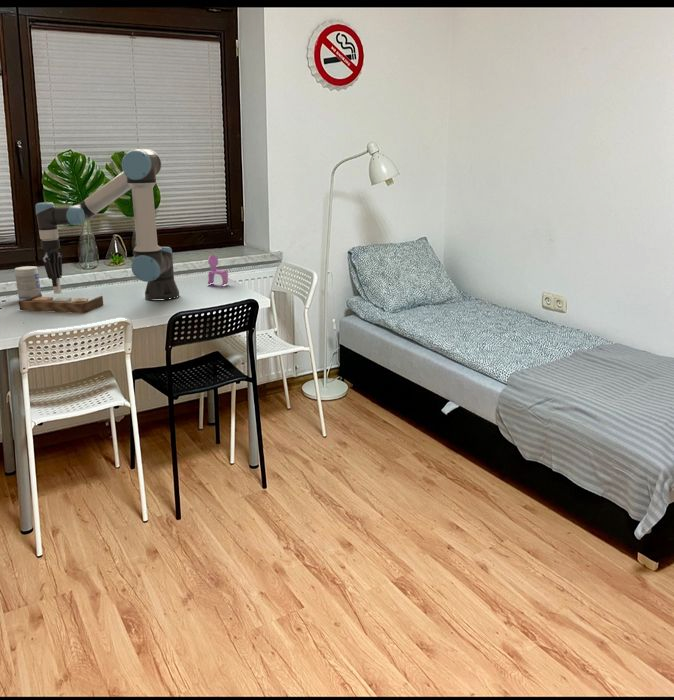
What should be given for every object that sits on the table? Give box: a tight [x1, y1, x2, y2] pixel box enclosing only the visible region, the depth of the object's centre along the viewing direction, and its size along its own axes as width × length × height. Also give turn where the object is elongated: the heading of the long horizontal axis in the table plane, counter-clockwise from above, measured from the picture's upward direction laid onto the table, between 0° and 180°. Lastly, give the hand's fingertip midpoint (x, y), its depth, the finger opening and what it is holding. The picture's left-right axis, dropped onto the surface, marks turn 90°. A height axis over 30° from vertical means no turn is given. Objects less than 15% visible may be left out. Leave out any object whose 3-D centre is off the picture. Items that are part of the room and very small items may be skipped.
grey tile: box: [52, 297, 73, 303], centre depth 296 cm, size 6×6×4 cm
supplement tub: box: [14, 265, 42, 301], centre depth 309 cm, size 10×10×15 cm
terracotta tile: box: [32, 296, 54, 302], centre depth 297 cm, size 6×6×4 cm
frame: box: [18, 293, 104, 314], centre depth 295 cm, size 30×15×4 cm, turn 80°
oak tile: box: [72, 297, 89, 303], centre depth 294 cm, size 6×6×4 cm
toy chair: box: [207, 254, 229, 286], centre depth 337 cm, size 8×9×15 cm
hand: (57, 293), depth 304 cm, fingers closed
